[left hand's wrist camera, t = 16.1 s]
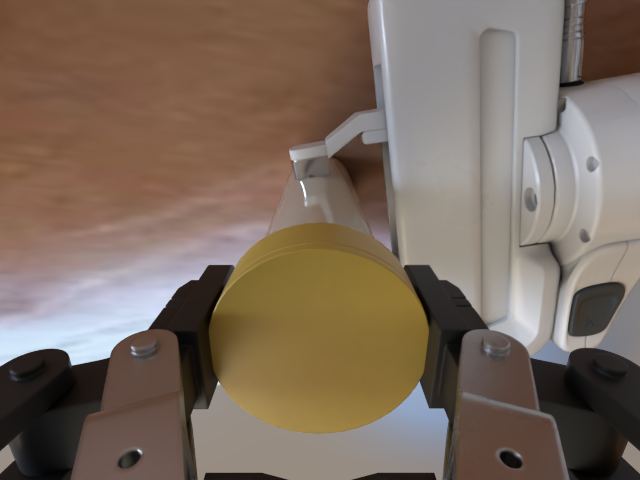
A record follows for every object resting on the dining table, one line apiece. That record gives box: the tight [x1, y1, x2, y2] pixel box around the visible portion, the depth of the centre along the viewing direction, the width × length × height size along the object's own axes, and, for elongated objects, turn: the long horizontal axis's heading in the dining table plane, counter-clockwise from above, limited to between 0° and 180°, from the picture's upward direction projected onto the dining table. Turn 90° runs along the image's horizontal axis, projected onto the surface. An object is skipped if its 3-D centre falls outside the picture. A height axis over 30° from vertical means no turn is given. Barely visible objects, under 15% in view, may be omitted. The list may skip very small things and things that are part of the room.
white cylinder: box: [265, 157, 374, 238], centre depth 18 cm, size 4×4×17 cm
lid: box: [209, 223, 429, 434], centre depth 10 cm, size 5×5×2 cm
